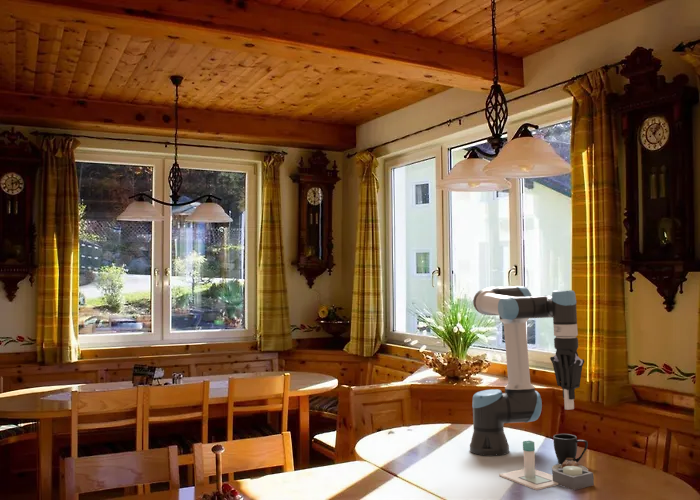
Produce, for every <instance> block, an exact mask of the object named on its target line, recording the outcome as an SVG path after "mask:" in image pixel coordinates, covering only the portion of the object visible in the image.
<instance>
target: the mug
mask: <svg viewBox="0 0 700 500" xmlns="http://www.w3.org/2000/svg"><path fill="white" fill-rule="evenodd" d="M552 439H553V450H554V453H555V456H556V458H557V459H556V460H557V463H558V464H562V463H563V462H564V461H565V460H566V458H574V459H573V461H576V462H577V463H579V462H580V461H581V459H582V457H583V455H584V454H585V453H586V451H587V449H588V441H587V440H585V439H578V437H577V436H576V435H575V434H570V433H558V434H553V436H552ZM579 442H583V443H584V445H585V446H584V449H583V451H582V452H581V454H580V456H578V457H577V453H578V443H579Z"/></svg>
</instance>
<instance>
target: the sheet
mask: <svg viewBox="0 0 700 500" xmlns="http://www.w3.org/2000/svg"><path fill="white" fill-rule="evenodd" d="M498 476H499V477H501V478H504V479H506V480H508V481H509V480H510V481H512V482H514V483H516V484H519V485H522V486H525V487H526V488H530V489H534V490H535V491H538V490H542V489H547V488H552V487H555V486H559V485H558V483H557V482H554V481H553V475H552V474H550V473H547V472H544V471H541V470H538V469H536V468H535V476H536V477H535V478H526V477H525V476H524V468H521V469H517V470H512V471H508V472H503V473H499V474H498Z"/></svg>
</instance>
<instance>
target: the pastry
mask: <svg viewBox="0 0 700 500" xmlns="http://www.w3.org/2000/svg"><path fill="white" fill-rule="evenodd" d="M573 459H574V458H566V460H565V461H564V462H563V463H562V464H559V463H558V464H554V465H552V467H551V469H552V471H553V470H557V469H562V468H563V467H565V466H577V467H580V468H582V469H583V470H586V471H589V468H587V467H586V466H583V465H580V464H579V463H578V462H576V461H573Z"/></svg>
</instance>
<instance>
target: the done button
mask: <svg viewBox="0 0 700 500" xmlns="http://www.w3.org/2000/svg"><path fill="white" fill-rule="evenodd" d="M563 473H565V474H568V475H571V476H576V475H580V474H582V468H580V467H577V466H565V467H563Z"/></svg>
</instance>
